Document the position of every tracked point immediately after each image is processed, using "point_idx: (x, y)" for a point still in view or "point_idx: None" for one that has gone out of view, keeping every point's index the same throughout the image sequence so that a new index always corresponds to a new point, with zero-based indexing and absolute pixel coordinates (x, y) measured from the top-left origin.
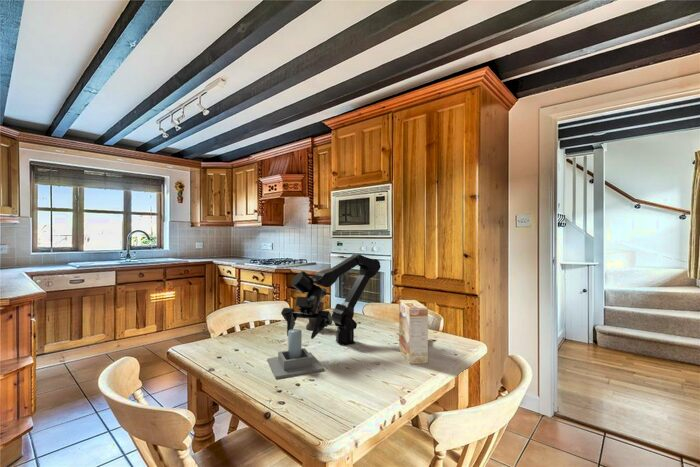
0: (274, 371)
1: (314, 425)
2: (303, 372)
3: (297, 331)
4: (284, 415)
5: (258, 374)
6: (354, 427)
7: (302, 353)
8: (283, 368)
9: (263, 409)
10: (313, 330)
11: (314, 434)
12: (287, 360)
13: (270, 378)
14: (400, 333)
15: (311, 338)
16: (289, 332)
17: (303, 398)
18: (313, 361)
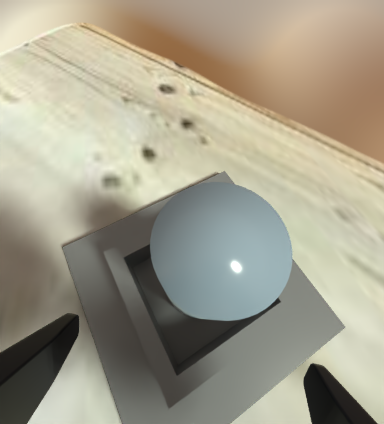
0: None
1: (93, 45)
2: (143, 210)
3: (187, 222)
4: (149, 60)
5: (290, 199)
6: (26, 43)
7: (178, 370)
8: None
9: (193, 71)
10: (10, 367)
11: (92, 32)
12: None
13: (239, 178)
14: None
15: (77, 322)
16: (255, 194)
17: (122, 102)
18: (113, 318)
